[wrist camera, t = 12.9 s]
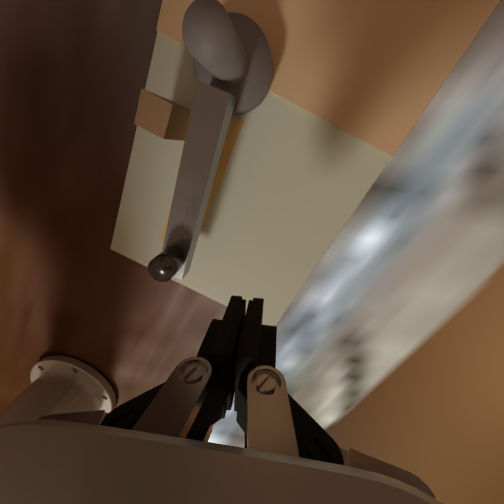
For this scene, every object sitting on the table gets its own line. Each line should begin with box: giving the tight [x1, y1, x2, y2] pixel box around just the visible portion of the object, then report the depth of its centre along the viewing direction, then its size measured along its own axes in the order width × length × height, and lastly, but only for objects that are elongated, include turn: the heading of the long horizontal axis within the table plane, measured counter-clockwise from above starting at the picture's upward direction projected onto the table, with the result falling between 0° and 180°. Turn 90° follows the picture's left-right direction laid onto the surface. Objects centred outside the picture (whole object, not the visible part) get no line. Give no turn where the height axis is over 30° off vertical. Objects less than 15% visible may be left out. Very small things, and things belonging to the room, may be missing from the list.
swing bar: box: [148, 80, 236, 282], centre depth 16 cm, size 13×2×4 cm, turn 160°
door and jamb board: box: [110, 0, 500, 326], centre depth 14 cm, size 34×18×8 cm, turn 155°
